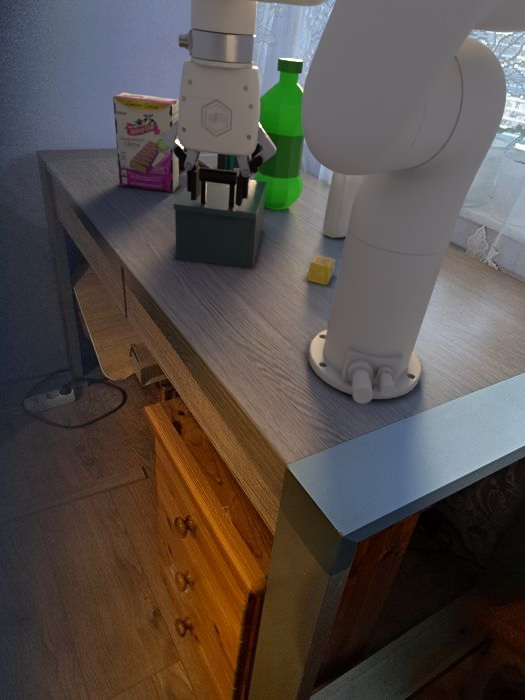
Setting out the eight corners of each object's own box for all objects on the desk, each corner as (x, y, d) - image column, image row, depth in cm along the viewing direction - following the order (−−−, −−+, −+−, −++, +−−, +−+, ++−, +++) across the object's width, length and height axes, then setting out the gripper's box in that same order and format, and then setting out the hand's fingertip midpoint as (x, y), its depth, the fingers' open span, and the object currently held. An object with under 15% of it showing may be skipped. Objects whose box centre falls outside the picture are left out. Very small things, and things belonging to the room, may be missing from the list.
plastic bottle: (305, 215, 93) (326, 65, 78) (250, 212, 92) (261, 59, 77) (298, 198, 101) (316, 59, 86) (248, 195, 100) (258, 53, 85)
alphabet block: (332, 277, 72) (335, 258, 71) (327, 285, 70) (331, 266, 68) (312, 272, 73) (315, 253, 71) (307, 280, 71) (310, 261, 69)
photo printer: (360, 224, 91) (374, 156, 84) (376, 232, 89) (392, 163, 82) (318, 232, 86) (330, 160, 79) (333, 241, 84) (347, 167, 76)
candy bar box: (118, 186, 97) (111, 95, 87) (127, 179, 101) (120, 91, 91) (173, 193, 96) (172, 102, 87) (179, 186, 100) (178, 98, 91)
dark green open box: (252, 268, 72) (256, 218, 68) (175, 258, 73) (175, 208, 68) (262, 231, 84) (266, 187, 80) (196, 223, 85) (196, 178, 80)
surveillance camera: (269, 117, 106) (226, 117, 103) (264, 173, 113) (224, 175, 110) (258, 112, 110) (217, 111, 107) (255, 166, 117) (216, 167, 114)
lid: (255, 219, 67) (259, 178, 64) (173, 209, 67) (172, 168, 64) (266, 186, 80) (269, 151, 76) (196, 178, 80) (197, 142, 77)
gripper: (142, 44, 55) (149, 201, 65) (292, 61, 54) (275, 216, 65) (160, 40, 61) (164, 185, 71) (295, 55, 60) (279, 199, 71)
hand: (217, 198), depth 68 cm, fingers open, 5 cm apart
